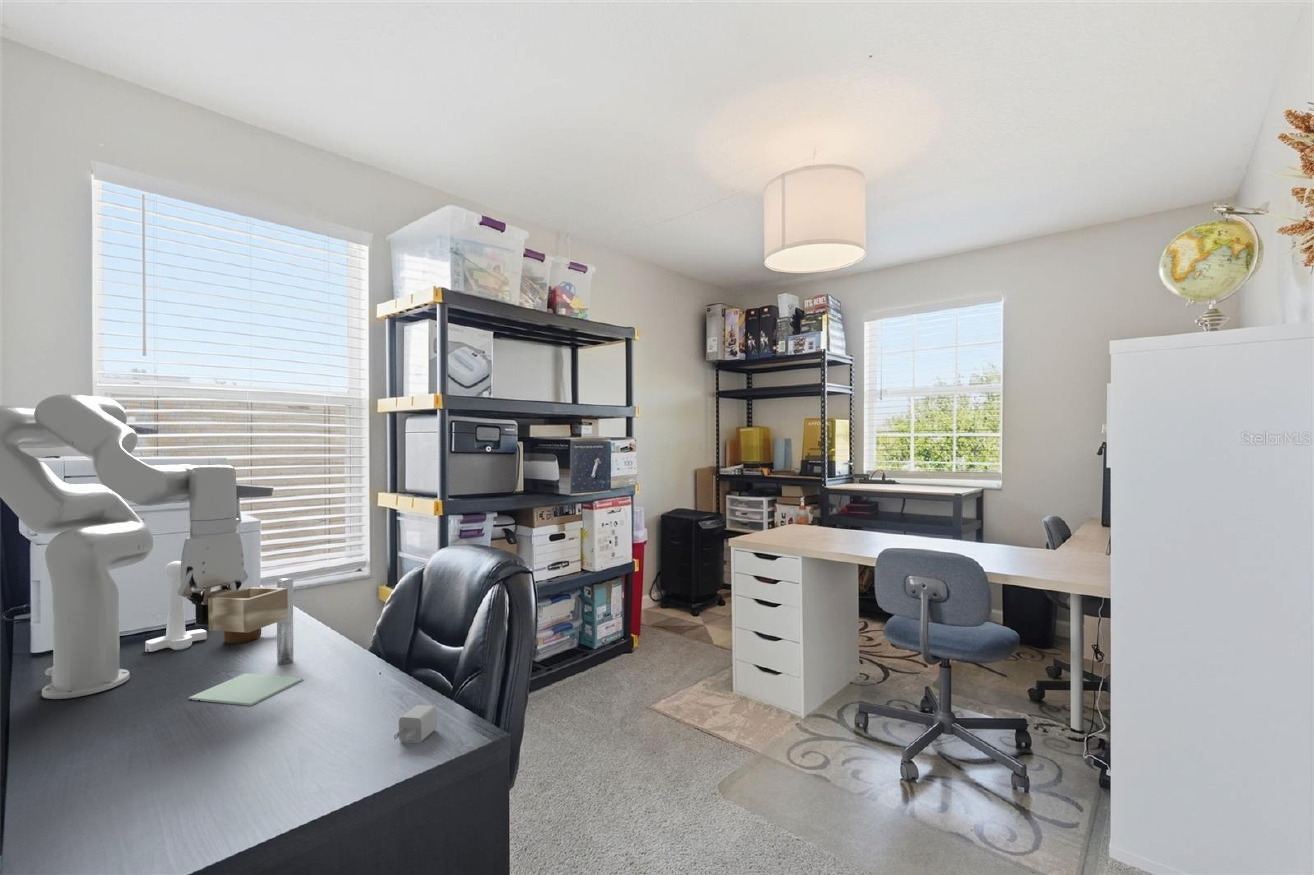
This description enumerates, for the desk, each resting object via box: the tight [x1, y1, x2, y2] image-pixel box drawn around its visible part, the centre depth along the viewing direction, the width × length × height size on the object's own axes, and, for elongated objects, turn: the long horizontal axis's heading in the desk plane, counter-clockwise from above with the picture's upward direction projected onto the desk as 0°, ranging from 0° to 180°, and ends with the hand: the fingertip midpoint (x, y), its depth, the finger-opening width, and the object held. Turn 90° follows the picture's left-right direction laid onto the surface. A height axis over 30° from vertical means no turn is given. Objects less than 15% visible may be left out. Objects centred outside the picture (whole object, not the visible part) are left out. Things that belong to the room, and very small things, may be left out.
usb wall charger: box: [393, 704, 438, 744], centre depth 96 cm, size 4×7×4 cm, turn 170°
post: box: [276, 577, 295, 665], centre depth 132 cm, size 3×3×18 cm
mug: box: [223, 628, 262, 645], centre depth 149 cm, size 12×8×9 cm, turn 134°
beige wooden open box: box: [194, 586, 288, 633], centre depth 117 cm, size 15×9×6 cm, turn 78°
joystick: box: [144, 560, 208, 653], centre depth 143 cm, size 11×8×20 cm
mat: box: [188, 672, 304, 707], centre depth 117 cm, size 14×12×1 cm
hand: (215, 619), depth 119 cm, fingers closed on beige wooden open box, 4 cm apart
